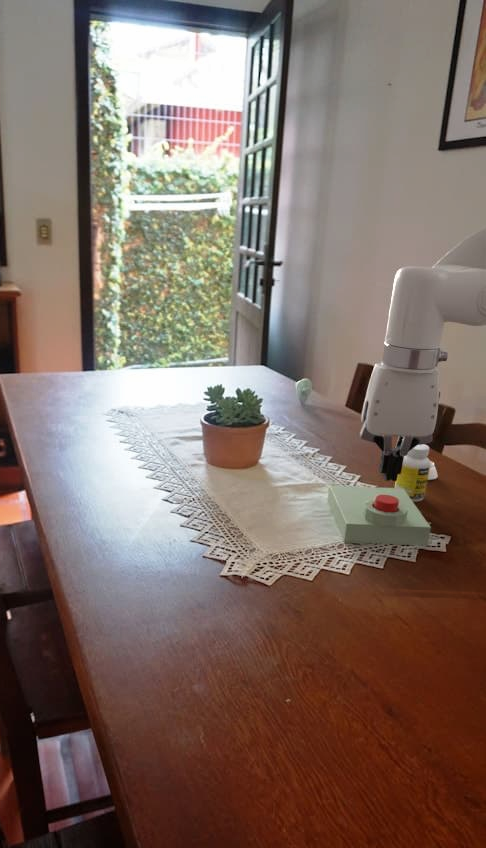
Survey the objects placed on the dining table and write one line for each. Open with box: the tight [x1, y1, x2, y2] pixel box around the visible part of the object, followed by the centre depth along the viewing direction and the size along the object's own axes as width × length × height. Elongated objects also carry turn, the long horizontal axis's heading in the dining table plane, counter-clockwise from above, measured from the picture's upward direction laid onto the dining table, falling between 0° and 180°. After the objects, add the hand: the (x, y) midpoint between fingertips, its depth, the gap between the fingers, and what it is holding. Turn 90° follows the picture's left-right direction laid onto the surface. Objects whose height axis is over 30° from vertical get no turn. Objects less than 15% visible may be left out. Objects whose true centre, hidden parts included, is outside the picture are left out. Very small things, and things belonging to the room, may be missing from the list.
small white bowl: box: [427, 460, 439, 481], centre depth 134 cm, size 5×3×5 cm
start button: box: [374, 495, 399, 513], centre depth 106 cm, size 4×4×2 cm
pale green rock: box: [294, 378, 314, 404], centre depth 182 cm, size 8×4×7 cm, turn 14°
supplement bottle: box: [393, 444, 431, 503], centre depth 122 cm, size 5×5×10 cm
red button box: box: [327, 484, 432, 546], centre depth 112 cm, size 13×16×5 cm
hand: (388, 477), depth 105 cm, fingers closed
